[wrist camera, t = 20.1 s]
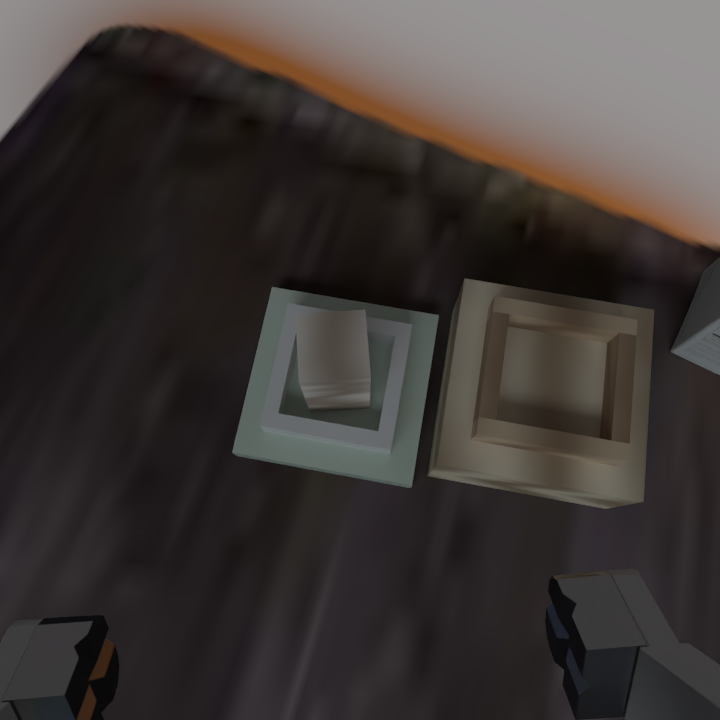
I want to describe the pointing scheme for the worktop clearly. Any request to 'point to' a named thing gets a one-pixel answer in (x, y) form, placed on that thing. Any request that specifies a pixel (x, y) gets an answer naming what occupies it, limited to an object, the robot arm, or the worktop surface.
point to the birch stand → (545, 395)
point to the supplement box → (702, 323)
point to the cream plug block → (334, 360)
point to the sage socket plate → (343, 427)
